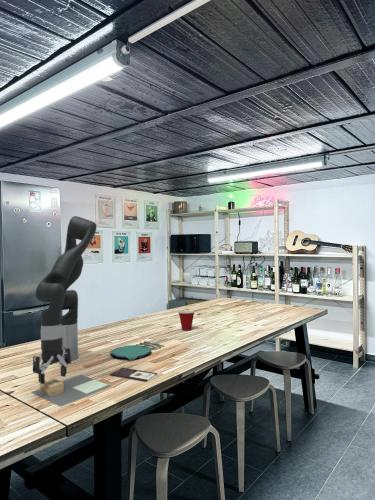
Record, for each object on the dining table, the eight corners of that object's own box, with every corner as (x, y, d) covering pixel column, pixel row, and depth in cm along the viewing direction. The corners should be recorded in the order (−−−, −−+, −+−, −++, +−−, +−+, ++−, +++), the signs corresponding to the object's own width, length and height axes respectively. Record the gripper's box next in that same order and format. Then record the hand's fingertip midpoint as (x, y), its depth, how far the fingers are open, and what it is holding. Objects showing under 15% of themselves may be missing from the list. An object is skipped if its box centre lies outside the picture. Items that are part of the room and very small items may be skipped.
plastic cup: (195, 327, 234) (195, 309, 233) (194, 332, 223) (194, 312, 223) (179, 327, 235) (178, 309, 234) (177, 331, 224) (176, 312, 224)
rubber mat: (30, 393, 134) (30, 391, 134) (81, 376, 151) (81, 374, 151) (60, 408, 122) (60, 406, 122) (111, 387, 139) (111, 385, 139)
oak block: (39, 391, 135) (39, 381, 135) (52, 386, 139) (51, 377, 139) (51, 396, 130) (51, 386, 130) (63, 391, 134) (63, 382, 134)
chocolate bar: (122, 367, 160) (157, 373, 152) (122, 369, 160) (157, 375, 152) (109, 374, 152) (145, 380, 144) (109, 376, 152) (145, 382, 144)
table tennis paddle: (102, 356, 178) (102, 351, 178) (142, 343, 203) (142, 338, 203) (132, 364, 167) (132, 359, 167) (170, 348, 191) (170, 344, 191)
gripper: (62, 331, 142) (64, 372, 142) (28, 339, 131) (29, 383, 131) (74, 333, 137) (75, 376, 137) (39, 342, 126) (40, 388, 126)
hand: (53, 379), depth 134 cm, fingers open, 8 cm apart
